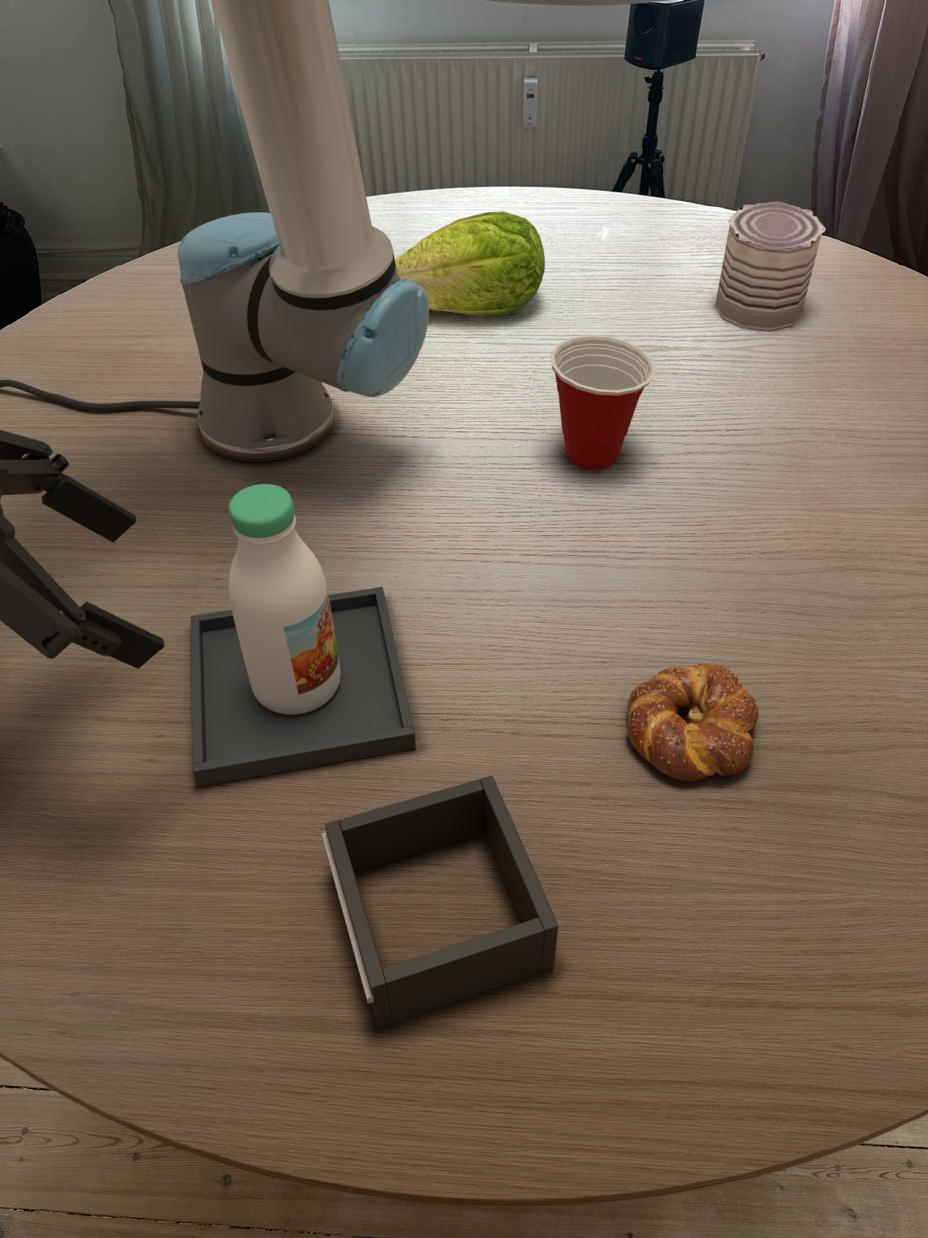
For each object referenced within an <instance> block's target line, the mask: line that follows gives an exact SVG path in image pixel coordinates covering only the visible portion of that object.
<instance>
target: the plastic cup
mask: <svg viewBox="0 0 928 1238" xmlns="http://www.w3.org/2000/svg"><path fill="white" fill-rule="evenodd" d="M550 360H551V362H550V363H551V369H552V371H553V373H554V376H555V383H556V391H557V394H558V395H557V396H558V404H559V415H560V422H561V423H560V424H561V433H562V435H563V443H564V453H565V455H566V459H567V460H568V462H569V463H570V464H571V465H573V466H575V467H576V468H578V469H583V470H587V471H601V470H605V469H608V468H610V467H611V466H614V465H615V464H616V462H617V460H618V458H619V456H620V454H621V451H622V447H623V445H624V442H625V439H626V437H627V435H628V432H629V429H630V427H631V424H632V421H633V417H634V414H635V411H636V408H637V405H638V403H639V400H640V397H641V396H642V393H643V391H644V390H645V388H646V387H647V386H649V385H650V383H651V382H652V380H653V378H654V376H655V374H656V372H657V369H656V366H655V361H654V359H653V358H652V357H651V356H650V355H649V354H648V352H646V350H644V349H643V348H641V347H640V346H637V345H635V344H634V343H632V342H630V341H628V340H625V339H621V338H617V337H614V336H610V335H597V334H584V335H578V336H573V337H569V338H567V339H565V340H563V341H561V342H559V343H557V344H556V345H555V347H554V348H553V350H552V351H551V353H550Z"/></svg>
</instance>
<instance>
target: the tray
mask: <svg viewBox="0 0 928 1238" xmlns="http://www.w3.org/2000/svg"><path fill="white" fill-rule="evenodd" d="M328 595H329V600H330V606H331V612H332V618H333V624H334V630H335V636H336V643H337V649H338V656H339V662H340V671H341V679H340V683H339V686H338V688H337V690H336V692H335V693H334V695H333V696H332V698H330V699H329V700H328V702H327V703H325V704H324V705H322V706H321V707H319V708H317V709H315V710H313V711H310V712H306V713H302V714H296V715H292V714H291V715H287V714H280V713H277V712H274V711H271V710H270V709H268V708H266V707H265V706H263V705H262V704H261V703H260V702H259V701H258V700H257V699H256V697H255V696H254V694H253V691H252V688H251V685H250V681H249V677H248V673H247V669H246V665H245V661H244V658H243V654H242V650H241V646H240V642H239V638H238V634H237V630H236V625H235V621H234V617H233V613H232V609H226V610H220V611H215V612H208V613H201V614H195V615H190V620H189V621H190V665H191V666H190V668H191V669H190V671H191V672H190V673H191V674H190V676H191V722H192V723H191V726H192V727H191V729H192V731H191V733H192V737H191V738H192V773H193V776H194V778H195V782H196V784H197V787H206V786H211V785H218V784H223V783H229V782H235V781H240V780H246V779H252V778H257V777H263V776H269V775H274V774H280V773H286V772H292V771H297V770H302V769H308V768H314V767H321V766H325V765H331V764H338V763H343V762H349V761H354V760H359V759H365V758H371V757H376V756H377V757H378V756H381V755H382V756H383V755H388V754H394V753H399V752H400V753H401V752H407V751H411V750H416V749H417V744H416V743H417V741H416V731H415V727H414V722H413V718H412V714H411V710H410V709H411V708H410V705H409V701H408V695H407V691H406V686H405V681H404V678H403V672H402V667H401V662H400V659H399V655H398V649H397V645H396V640H395V635H394V631H393V627H392V626H393V625H392V622H391V617H390V614H389V609H388V604H387V600H386V595H385V591H384V586H377V587H372V588H366V589H359V590H352V591H351V590H350V591H346V592H338V593H331V594H328Z"/></svg>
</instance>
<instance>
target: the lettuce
mask: <svg viewBox="0 0 928 1238" xmlns="http://www.w3.org/2000/svg"><path fill="white" fill-rule="evenodd" d="M395 263H396V269H397V273H398V276H399V277H400V278H401V279H410V280H413V282H414V283H415V284H416V285H418V286H420V287H421V288H422V289H423V291H424V292H425V294H426V297H427V300H428V306H429V311H430V310H432V311H437V312H448V313H449V312H450V313H455V314H460V315H465V316H471V317H491V316H492V317H493V316H494V317H495V316H496V317H497V316H506V315H510V314H514V313H518V312H519V311H521V309H523V308H524V307H525V306H526V305H527V304H528V303H529V302H530V301H531V300H532V299H533V298H535V296H536V294H537V293H538V291H539V289H540V286H541V284H542V282H543V278H544V275H545V268H546V256H545V249H544V245H543V242H542V238H541V235H540V233H539V232H538V230H537V228H536V227H535V226H534V224H532V223H531V222H530V221H529V220H528V219H527V218H526V217H523V216H519V215H517V214H514V213H511V212H507V211H504V210H502V211H487V212H482V213H477V214H474V215H470V216H465V217H461V218H458V219H456V220H454V221H452V222H450V223H448V224H447V225H446V224H445V225H444V226H442V227H441V228H438V229H437V230H435V231H433V232H432V233H430V234H428V235H426V236H425V237H424V238H421V239H420V240H419V241H417V243H416V244H415V245H413V246H412V247H410V248H409V249H407V250H406V251H404V252H403V253H402V254H400V255H399V256H398V257H396V258H395Z"/></svg>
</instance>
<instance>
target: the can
mask: <svg viewBox="0 0 928 1238" xmlns="http://www.w3.org/2000/svg"><path fill="white" fill-rule="evenodd" d="M727 223H728V224H729V226H728V232H727V238H726V244H725V249H724V253H723V259H722V265H721V270H720V275H719V281H718V286H717V293H716V298H715V303H714V306H715V308H716V310H717V312H718V314H719V317H720V318H721V319H722V320H724V321H726V322H728V323H731V324H733V325H735V326H736V327H739V328H741V329H747V330H755V331H764V332H773V331H776V330H777V331H778V330H782V329H785V328H790V327H793V326H794V325H795V324H796V322H797V321H798V320H799V319H800V317H801V316H802V315H803V310H804V306H805V302H806V298H807V294H808V290H809V286H810V281H811V278H812V274H813V271H814V266H815V261H816V258H817V255H818V250H819V246H820V241H821V238H822V234H823V233H825V231H827V229H826V227H825V226H824V225H823V223H822V222H821V220H819V218H818V216H817V215H816V214H815V213H814V211H813V210H810V209H807V208H803V207H800V206H796V205H792V204H790V203H786V202H783V201H779V200H777V201H769V202H761V203H760V202H759V203H753V204H752V203H751V204H743V205H742V206H741V207H740V208H739V209H738V210H737V211H735V213H734V214H732V215H731V217H729V218H728V219H727Z"/></svg>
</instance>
